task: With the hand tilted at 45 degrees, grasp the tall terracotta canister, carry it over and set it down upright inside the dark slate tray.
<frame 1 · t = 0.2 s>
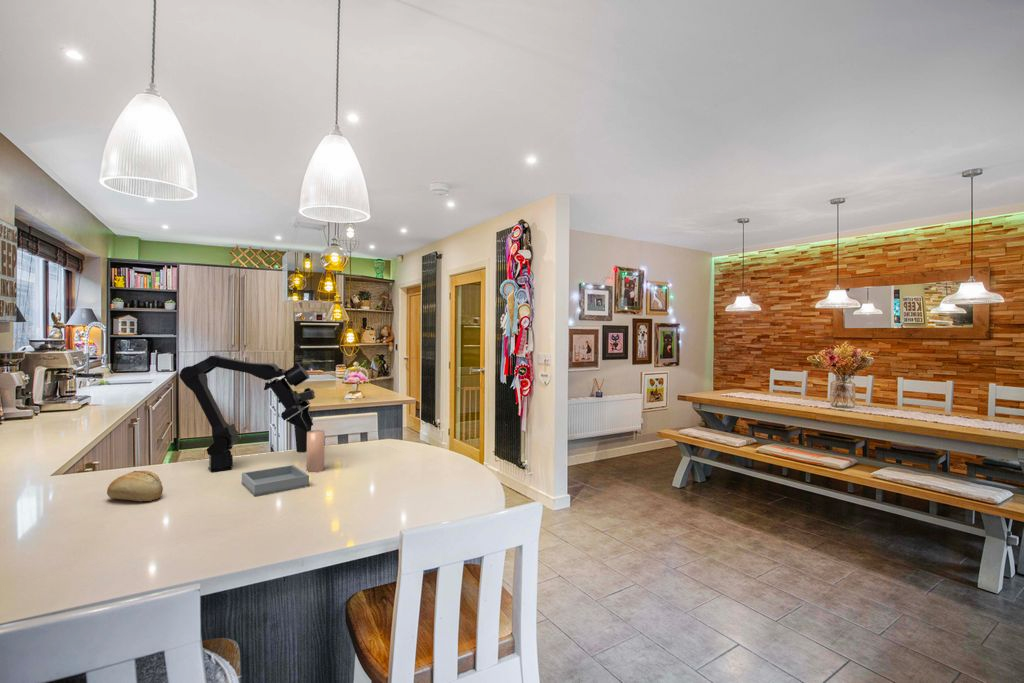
hand: (309, 427, 177), 14 cm above the counter, tool tilted 35°, fingers open, 9 cm apart
canister: (315, 470, 172), on the counter
tray: (275, 484, 154), on the counter
drinking cup: (302, 451, 200), on the counter
bread roll: (135, 500, 139), on the counter
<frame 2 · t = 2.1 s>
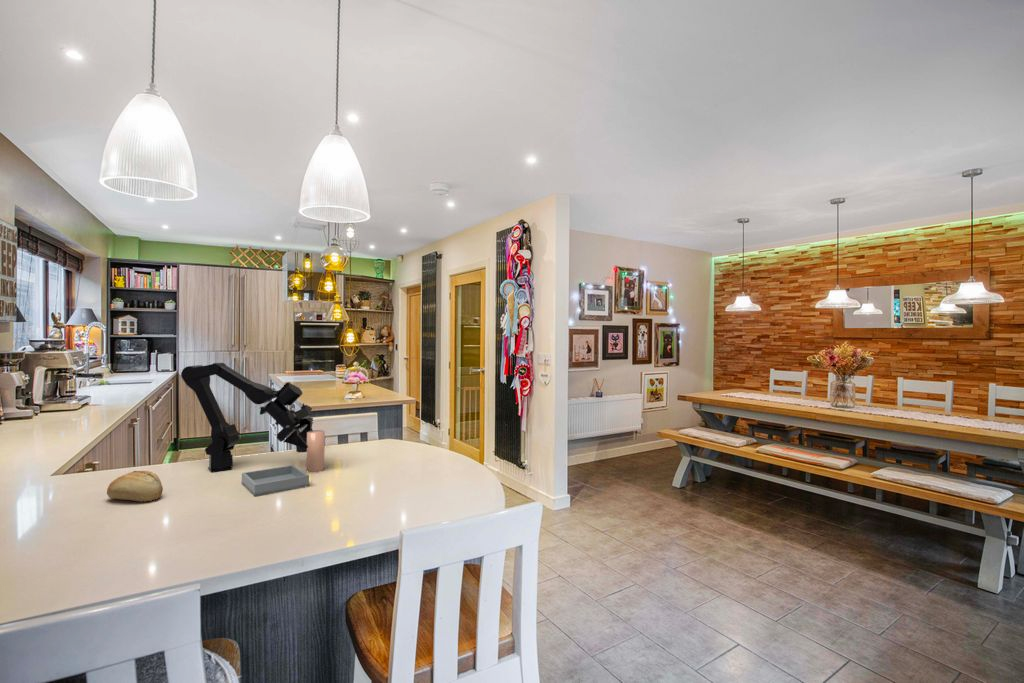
hand: (312, 444, 172), 9 cm above the counter, tool tilted 45°, fingers open, 9 cm apart
nothing on the counter moved.
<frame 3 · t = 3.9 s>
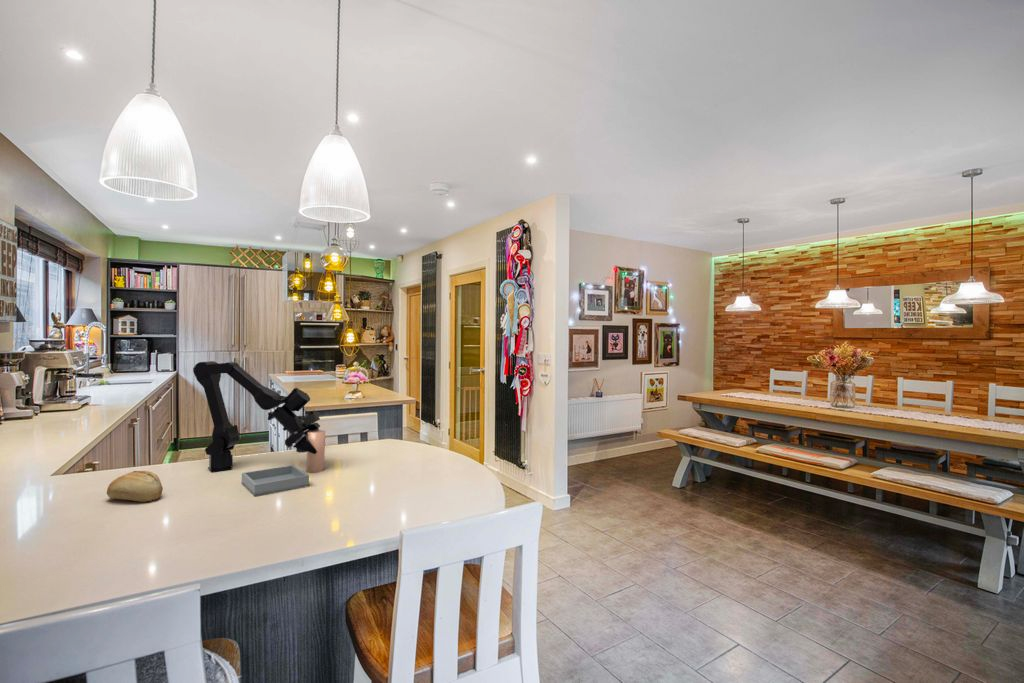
hand: (319, 450, 172), 7 cm above the counter, tool tilted 45°, fingers closed on canister, 6 cm apart
canister: (315, 470, 172), on the counter, touching gripper
everything else where it was.
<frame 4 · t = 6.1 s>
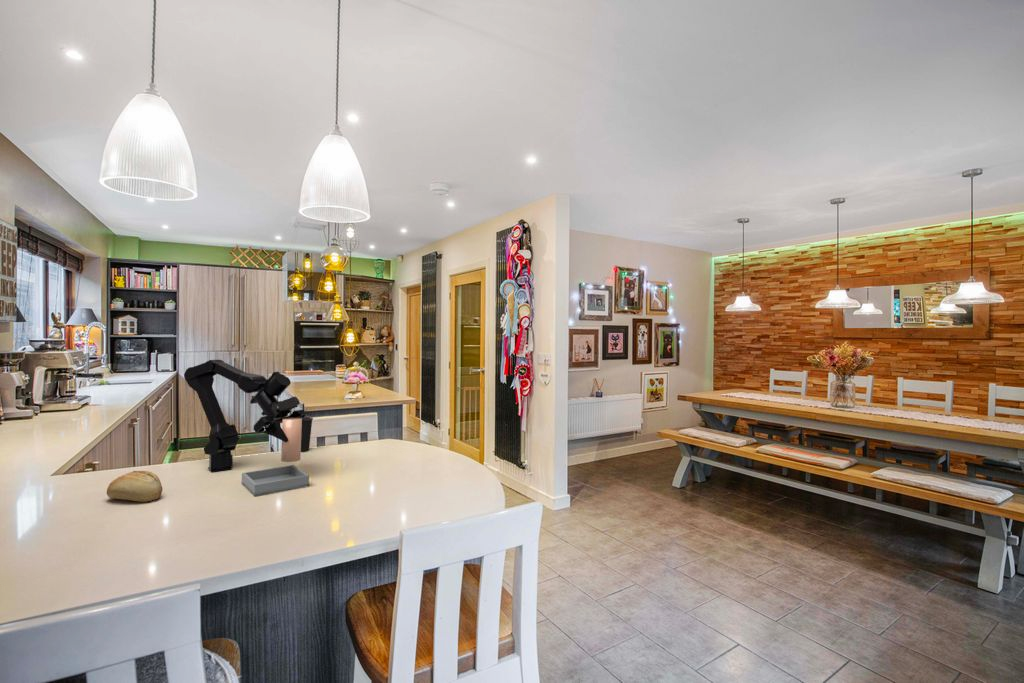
hand: (294, 439, 161), 13 cm above the counter, tool tilted 45°, fingers closed on canister, 6 cm apart
canister: (290, 459, 162), point 6 cm above the counter, touching gripper
everything else where it was.
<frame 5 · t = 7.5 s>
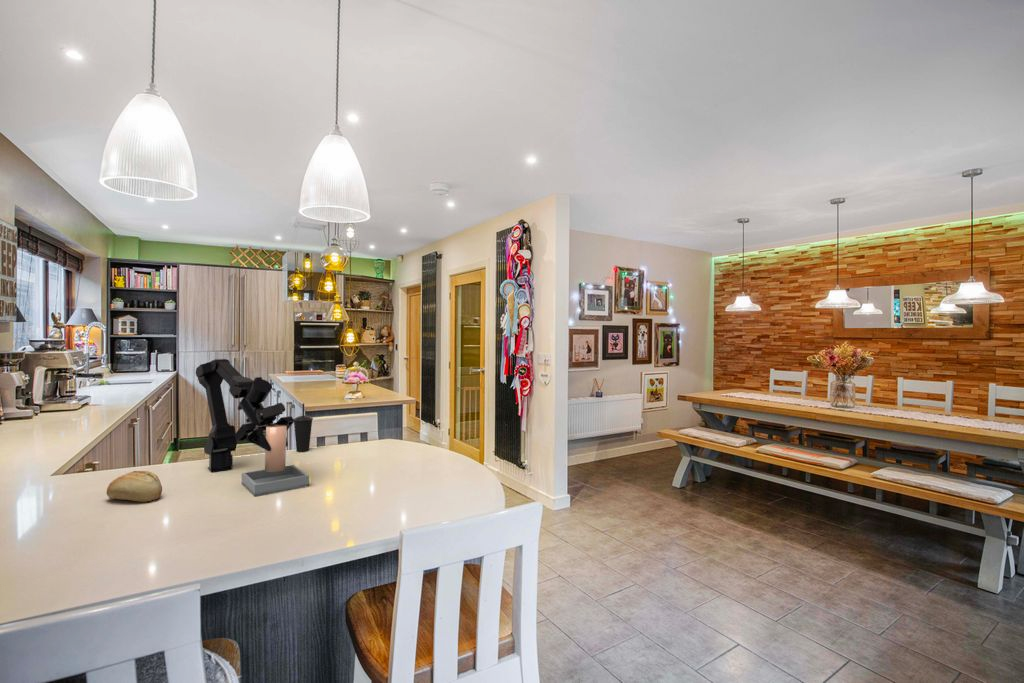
hand: (278, 448, 154), 12 cm above the counter, tool tilted 45°, fingers closed on canister, 6 cm apart
canister: (275, 469, 154), point 5 cm above the counter, touching gripper
everything else where it was.
when the fingers open (9 cm above the counter, at t = 8.5 s): canister drops 1 cm, resting on tray.
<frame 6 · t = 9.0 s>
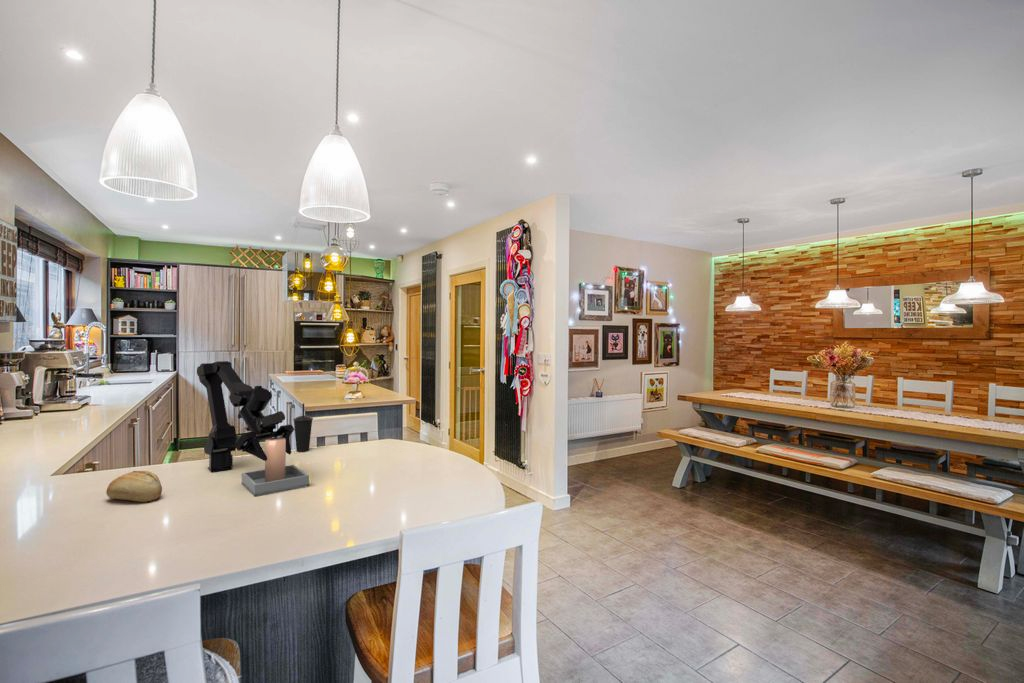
hand: (278, 456, 154), 9 cm above the counter, tool tilted 45°, fingers open, 9 cm apart
canister: (275, 482, 154), point 1 cm above the counter, touching tray
everything else where it was.
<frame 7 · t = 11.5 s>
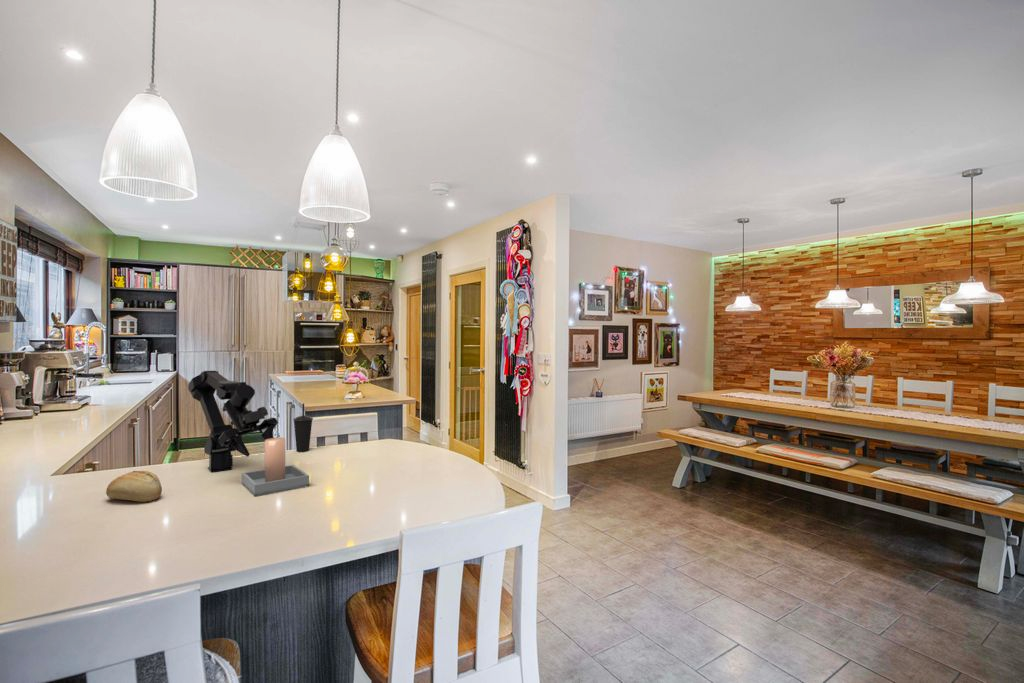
hand: (261, 451, 159), 9 cm above the counter, tool tilted 40°, fingers open, 9 cm apart
nothing on the counter moved.
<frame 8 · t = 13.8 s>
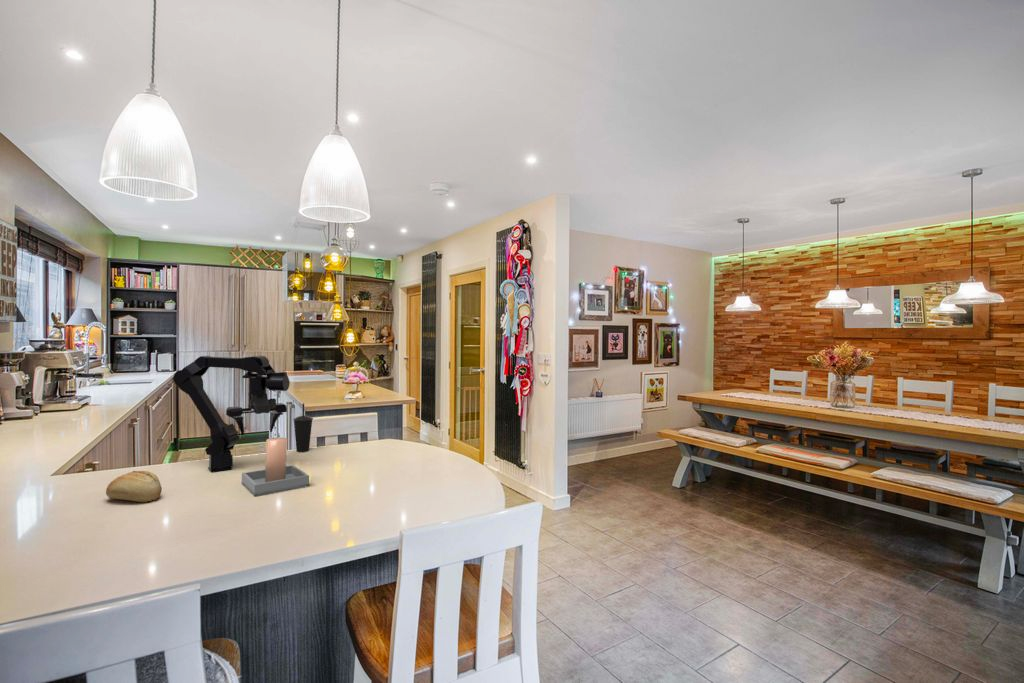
hand: (257, 433, 171), 13 cm above the counter, tool pointing down, fingers open, 9 cm apart
nothing on the counter moved.
at the end: canister inside the target area on the tray (0.1 cm from its centre), point 0.9 cm above the tray's base; canister tilted 1°; the gripper is holding nothing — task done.
